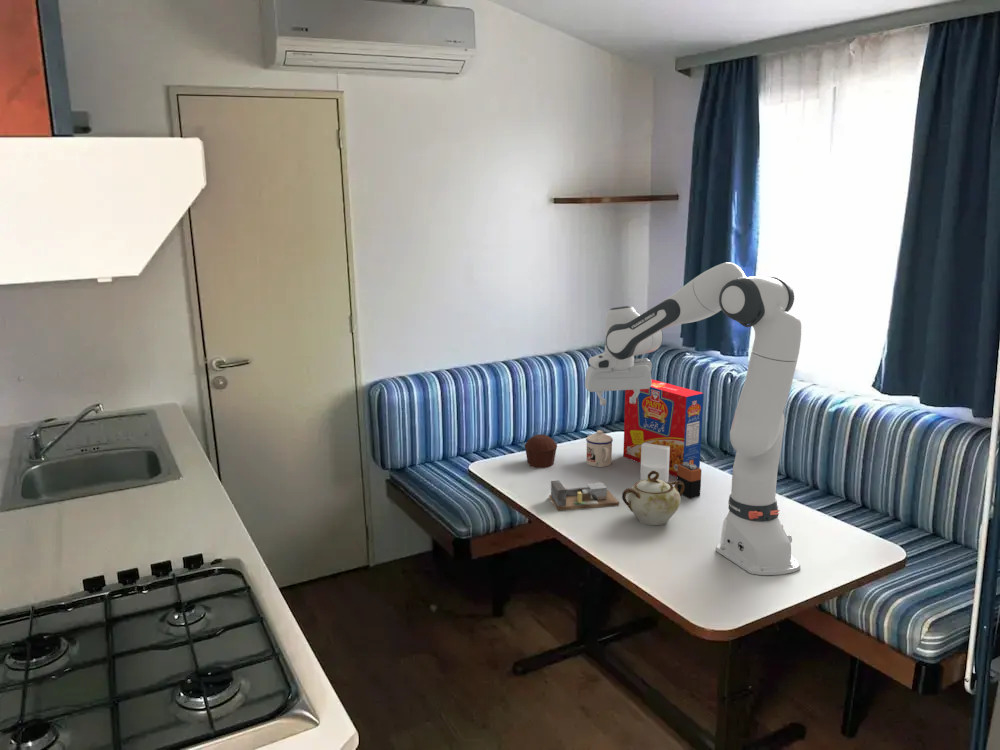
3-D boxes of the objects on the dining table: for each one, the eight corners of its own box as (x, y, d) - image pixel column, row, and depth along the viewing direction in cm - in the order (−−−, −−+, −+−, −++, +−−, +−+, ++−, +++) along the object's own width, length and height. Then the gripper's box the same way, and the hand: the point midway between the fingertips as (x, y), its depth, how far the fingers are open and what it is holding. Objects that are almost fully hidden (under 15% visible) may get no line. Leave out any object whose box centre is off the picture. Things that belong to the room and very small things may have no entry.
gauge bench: (608, 493, 253) (608, 475, 251) (618, 505, 243) (619, 486, 242) (549, 498, 249) (549, 479, 248) (557, 510, 240) (558, 491, 238)
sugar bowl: (633, 534, 223) (635, 483, 220) (610, 514, 237) (611, 465, 233) (696, 525, 229) (699, 475, 225) (670, 505, 243) (672, 458, 239)
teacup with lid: (581, 460, 283) (582, 428, 280) (605, 457, 286) (606, 425, 283) (595, 471, 272) (596, 438, 269) (620, 468, 274) (621, 435, 272)
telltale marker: (580, 500, 242) (580, 491, 242) (581, 502, 241) (582, 493, 240) (577, 501, 242) (577, 491, 242) (578, 503, 241) (578, 493, 240)
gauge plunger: (602, 493, 249) (602, 482, 248) (609, 502, 243) (609, 491, 242) (580, 495, 248) (580, 484, 247) (587, 504, 241) (587, 492, 240)
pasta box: (623, 456, 287) (625, 380, 280) (639, 452, 291) (642, 376, 285) (682, 479, 264) (686, 396, 258) (699, 474, 269) (703, 393, 262)
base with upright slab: (671, 478, 265) (673, 444, 262) (663, 488, 257) (665, 452, 254) (645, 474, 269) (646, 440, 266) (636, 483, 261) (637, 448, 258)
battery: (689, 499, 248) (690, 468, 245) (675, 491, 254) (677, 461, 251) (700, 496, 249) (702, 466, 247) (686, 489, 255) (688, 459, 253)
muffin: (557, 469, 274) (557, 441, 271) (524, 469, 274) (524, 441, 272) (556, 458, 285) (556, 431, 283) (524, 458, 286) (525, 430, 283)
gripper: (648, 355, 247) (646, 399, 250) (583, 358, 243) (582, 403, 247) (655, 360, 241) (654, 404, 244) (590, 363, 237) (589, 408, 241)
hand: (617, 404), depth 245 cm, fingers open, 8 cm apart
